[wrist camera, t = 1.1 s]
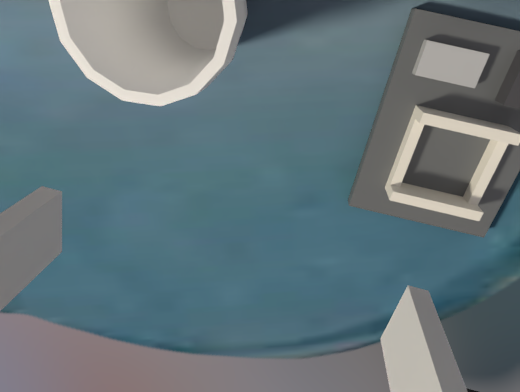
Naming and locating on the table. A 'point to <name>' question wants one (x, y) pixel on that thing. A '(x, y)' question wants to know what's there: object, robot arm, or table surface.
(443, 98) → the board
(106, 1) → the foam cup
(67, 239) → the table surface
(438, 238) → the table surface
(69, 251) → the table surface
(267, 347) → the table surface
